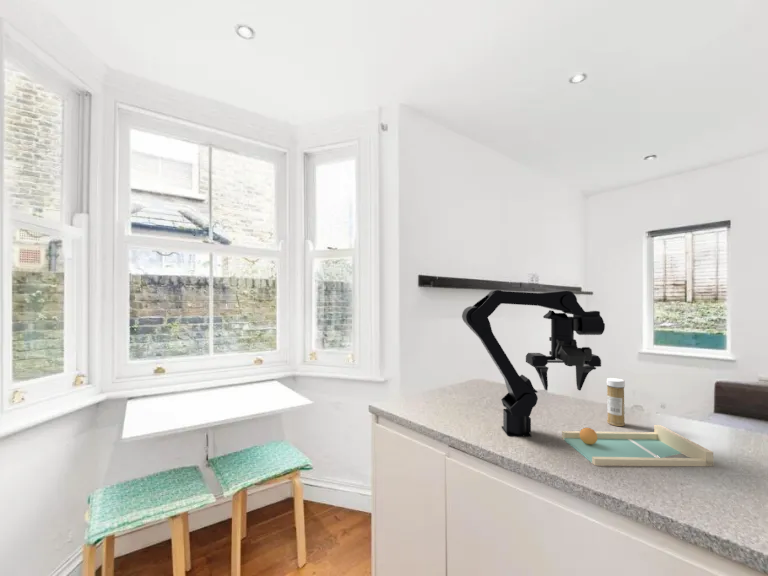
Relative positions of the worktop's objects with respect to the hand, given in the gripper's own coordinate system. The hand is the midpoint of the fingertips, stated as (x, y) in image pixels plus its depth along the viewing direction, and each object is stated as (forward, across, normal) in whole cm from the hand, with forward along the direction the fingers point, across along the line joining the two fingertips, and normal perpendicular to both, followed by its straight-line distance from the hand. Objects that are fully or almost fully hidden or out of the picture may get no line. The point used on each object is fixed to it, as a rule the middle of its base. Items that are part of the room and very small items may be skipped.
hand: (562, 389), depth 100 cm
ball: (+9, +3, -9) cm, 13 cm away
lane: (+12, +11, -12) cm, 20 cm away
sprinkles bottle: (+12, +19, +7) cm, 24 cm away
